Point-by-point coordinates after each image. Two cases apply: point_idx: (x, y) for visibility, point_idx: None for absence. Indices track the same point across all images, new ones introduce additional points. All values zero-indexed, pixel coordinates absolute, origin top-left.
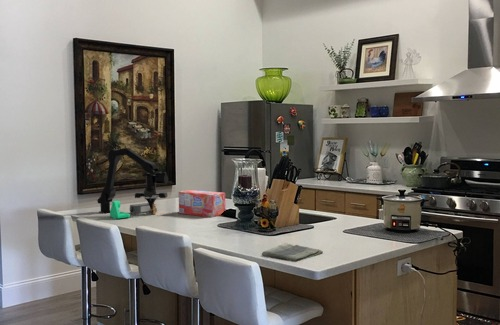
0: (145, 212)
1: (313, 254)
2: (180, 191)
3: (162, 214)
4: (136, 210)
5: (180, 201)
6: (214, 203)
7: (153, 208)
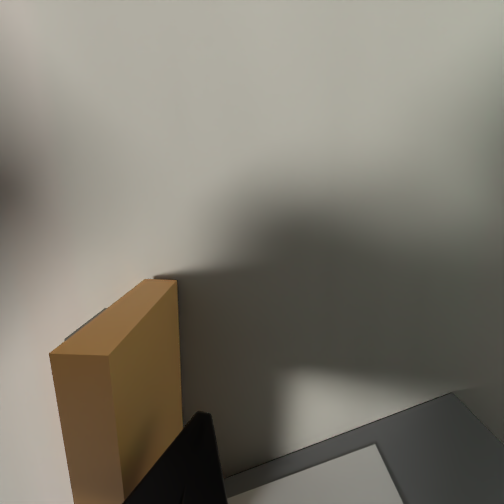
0: (302, 457)
1: None
2: None
3: (40, 265)
4: (468, 452)
5: None
6: None
7: (128, 327)
